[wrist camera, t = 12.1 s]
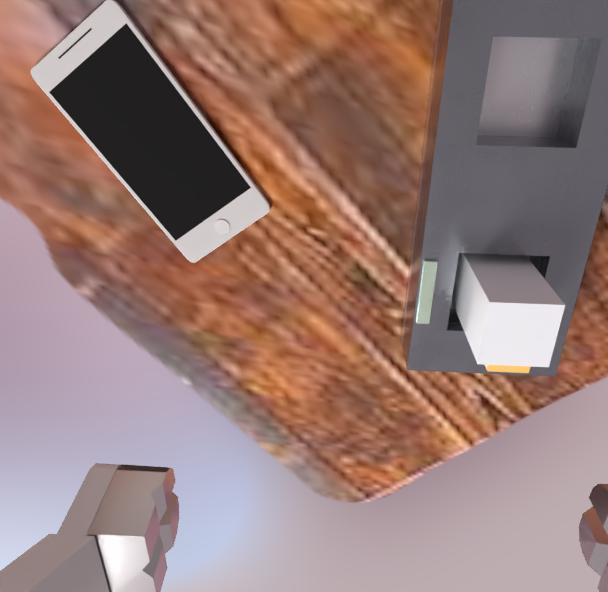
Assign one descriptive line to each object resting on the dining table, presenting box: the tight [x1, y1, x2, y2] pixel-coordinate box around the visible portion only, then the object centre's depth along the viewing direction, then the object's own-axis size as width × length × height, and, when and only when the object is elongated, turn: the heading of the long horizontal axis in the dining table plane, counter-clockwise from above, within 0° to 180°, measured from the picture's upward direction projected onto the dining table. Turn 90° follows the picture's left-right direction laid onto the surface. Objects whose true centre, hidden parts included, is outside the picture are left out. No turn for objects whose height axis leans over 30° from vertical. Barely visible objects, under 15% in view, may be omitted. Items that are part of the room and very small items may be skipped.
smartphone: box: [31, 0, 270, 263], centre depth 36 cm, size 7×16×1 cm, turn 35°
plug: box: [452, 253, 565, 373], centre depth 34 cm, size 5×4×8 cm
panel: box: [401, 0, 608, 376], centre depth 34 cm, size 24×10×4 cm, turn 179°
